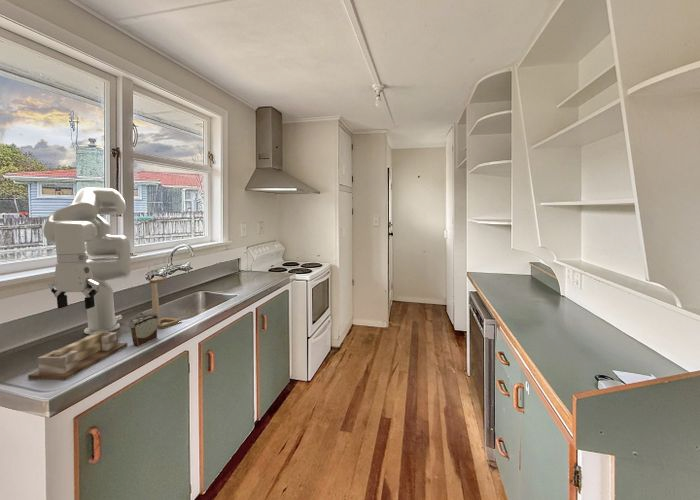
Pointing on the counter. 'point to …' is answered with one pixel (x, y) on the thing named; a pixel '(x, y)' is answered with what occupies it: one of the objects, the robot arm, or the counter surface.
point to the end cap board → (82, 364)
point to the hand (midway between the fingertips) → (76, 307)
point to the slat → (83, 346)
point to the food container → (143, 328)
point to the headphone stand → (156, 306)
